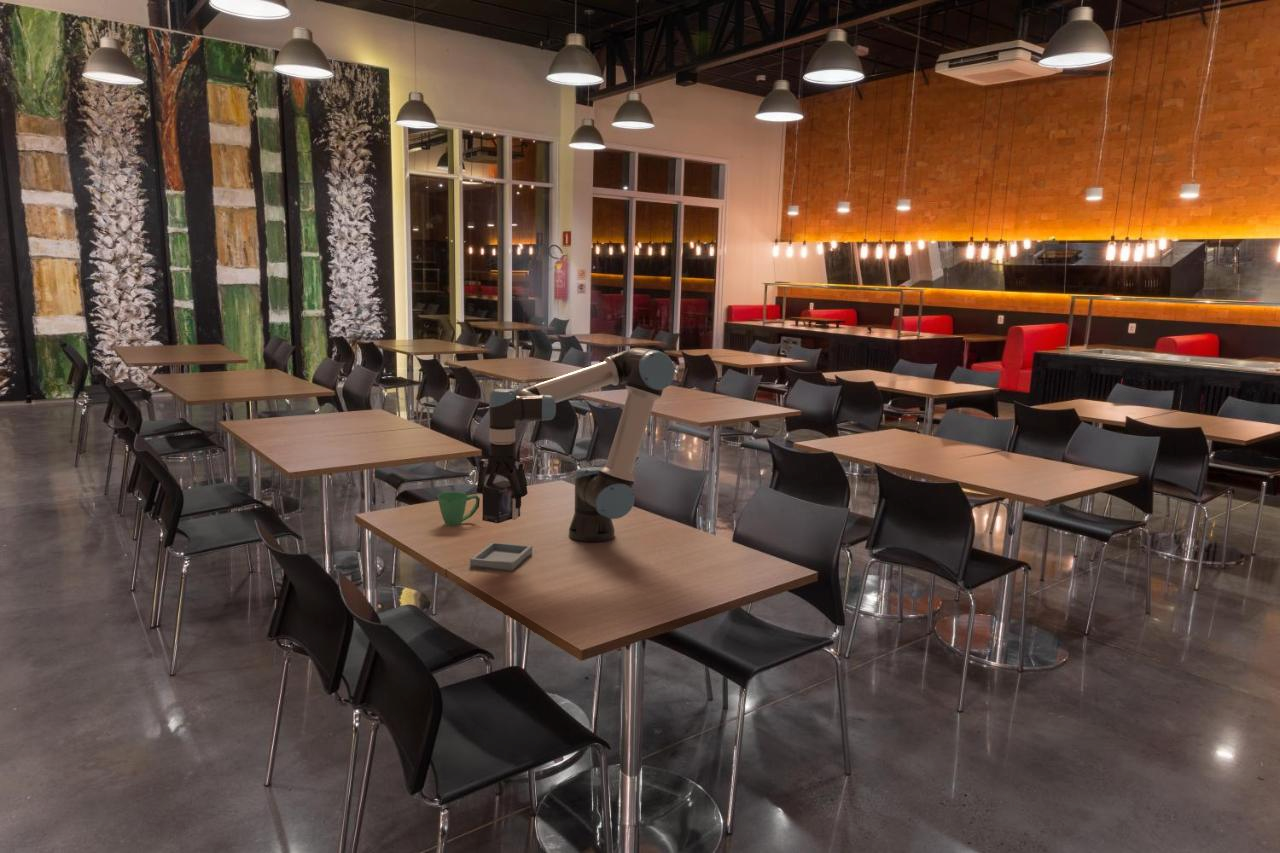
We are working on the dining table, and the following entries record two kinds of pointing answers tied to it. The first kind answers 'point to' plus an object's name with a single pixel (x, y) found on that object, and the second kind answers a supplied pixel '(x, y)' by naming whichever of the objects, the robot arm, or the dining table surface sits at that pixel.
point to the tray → (501, 556)
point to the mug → (456, 507)
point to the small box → (498, 502)
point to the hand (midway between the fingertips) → (501, 517)
